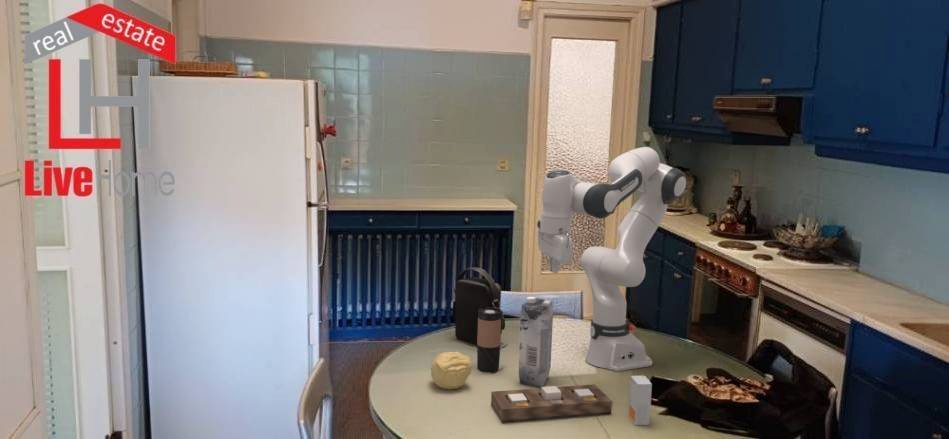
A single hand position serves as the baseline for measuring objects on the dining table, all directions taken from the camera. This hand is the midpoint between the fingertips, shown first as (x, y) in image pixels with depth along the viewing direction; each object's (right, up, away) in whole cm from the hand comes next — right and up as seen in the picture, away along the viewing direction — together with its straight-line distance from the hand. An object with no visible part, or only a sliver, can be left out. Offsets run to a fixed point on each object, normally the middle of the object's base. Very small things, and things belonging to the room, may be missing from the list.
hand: (553, 272), depth 202 cm
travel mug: (-19, -34, +22) cm, 45 cm away
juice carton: (-5, -36, +13) cm, 38 cm away
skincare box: (+22, -40, -13) cm, 48 cm away
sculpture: (-31, -36, +8) cm, 48 cm away
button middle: (-2, -36, -8) cm, 37 cm away
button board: (-2, -39, -8) cm, 39 cm away
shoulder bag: (-23, -30, +48) cm, 61 cm away
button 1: (-12, -37, -10) cm, 40 cm away
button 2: (+8, -37, -6) cm, 38 cm away
